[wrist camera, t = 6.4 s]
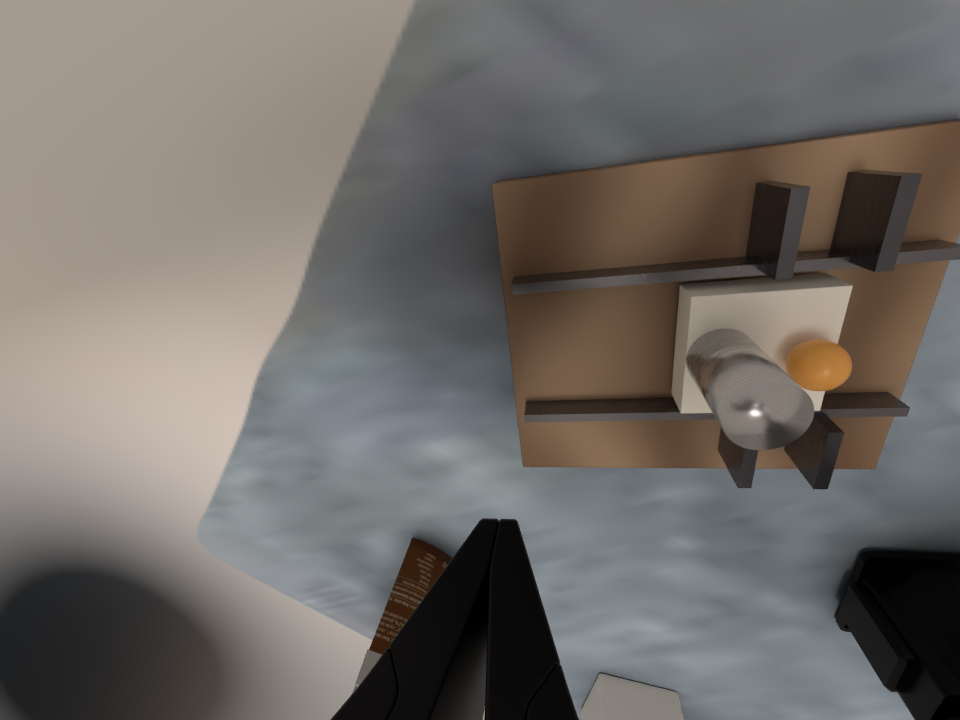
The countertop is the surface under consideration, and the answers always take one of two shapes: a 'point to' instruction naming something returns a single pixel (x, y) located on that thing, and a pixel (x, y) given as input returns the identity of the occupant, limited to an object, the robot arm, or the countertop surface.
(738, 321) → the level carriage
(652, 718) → the milk
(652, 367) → the stand
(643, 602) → the countertop surface
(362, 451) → the countertop surface
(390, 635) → the food container
